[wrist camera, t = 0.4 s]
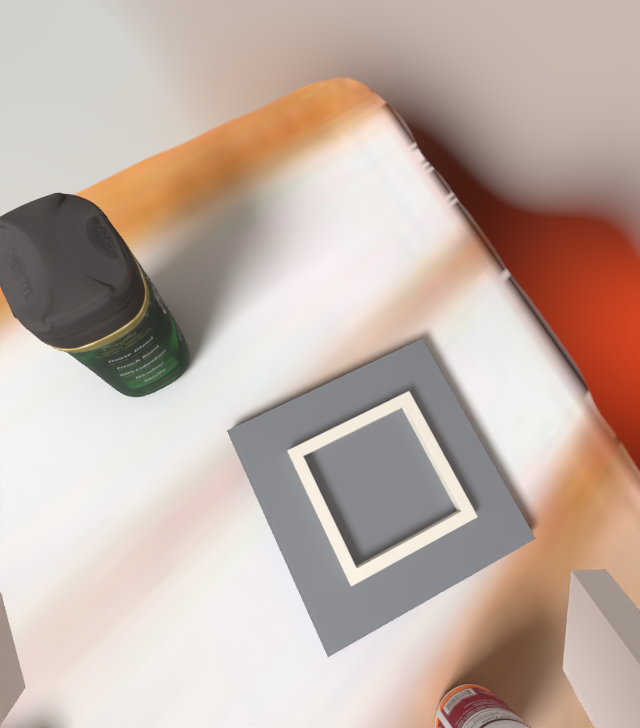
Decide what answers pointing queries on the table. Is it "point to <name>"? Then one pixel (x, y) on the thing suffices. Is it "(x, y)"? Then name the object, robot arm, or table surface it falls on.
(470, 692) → the pill bottle
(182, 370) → the coffee jar
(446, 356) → the table surface
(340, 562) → the locating plate
